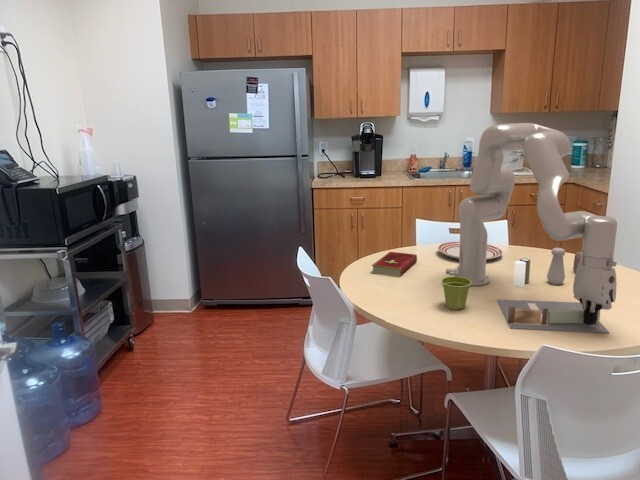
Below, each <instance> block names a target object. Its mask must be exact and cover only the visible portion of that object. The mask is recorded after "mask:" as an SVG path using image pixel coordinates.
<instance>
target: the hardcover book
mask: <svg viewBox="0 0 640 480" xmlns="http://www.w3.org/2000/svg"><path fill="white" fill-rule="evenodd" d="M417 262H418V256H417V254H416V253H406V252H397V251H388V253H386V254H385V255H383V256H381V258H379V259H378V260H376V261H375V262H374V263H372V264H371V266H372V267H373V268H372V273H373V274H375V275H382V276H390V277H396V278H397V277H399V278H401V277H402V276H404V275H405V274H406V273H407V272H408V271H409V270H410V269H412V267H413V266H414V265H416V263H417ZM404 273H405V274H404Z"/></svg>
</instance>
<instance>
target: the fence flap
mask: <svg viewBox="0 0 640 480" xmlns="http://www.w3.org/2000/svg"><path fill="white" fill-rule="evenodd" d="M583 317H584V310H548V321H547V322H548V323H583V321H584V318H583ZM600 317H601V310H600V311H598V315H597V321H596V323H599V321H600Z"/></svg>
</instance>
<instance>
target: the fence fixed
mask: <svg viewBox="0 0 640 480" xmlns="http://www.w3.org/2000/svg"><path fill="white" fill-rule="evenodd" d="M547 311H548V309H546V308H544V309H543V315H542V324H546V321H547ZM540 320H541V310H533V309H516V308H515V307H509V315H508V322H509V323H526V324H540Z"/></svg>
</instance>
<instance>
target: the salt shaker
mask: <svg viewBox="0 0 640 480" xmlns="http://www.w3.org/2000/svg"><path fill="white" fill-rule="evenodd" d="M550 252H551V255H552V259H551V262H550V264H549V268H548V271H547V274H546V279H547V280H548V283H549V284H551V285H553V286H560V285H562V284H563V283H564V281H565V279H566V275H565V265H564V256H565V254H566V250H565V249H564V248H561V247H554V248H552V249H551V251H550Z"/></svg>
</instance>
